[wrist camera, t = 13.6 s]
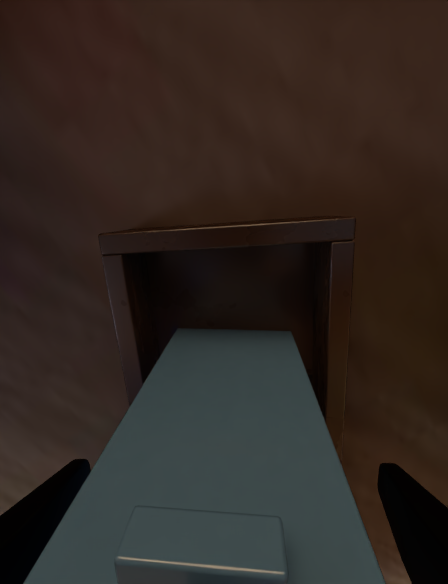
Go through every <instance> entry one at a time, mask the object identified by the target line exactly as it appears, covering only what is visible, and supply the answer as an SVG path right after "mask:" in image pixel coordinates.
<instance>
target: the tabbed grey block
mask: <svg viewBox="0 0 448 584" xmlns="http://www.w3.org/2000/svg"><path fill="white" fill-rule="evenodd" d="M23 584H386V583H385V580H384V578H383V575H382V572H381V570H380V567H379V564H378V561H377V559H376V556H375V553H374V551H373V548H372V545H371V543H370V540H369V537H368V535H367V532H366V529H365V527H364V524H363V521H362V519H361V516H360V513H359V511H358V508H357V505H356V503H355V500H354V497H353V495H352V492H351V489H350V487H349V484H348V481H347V479H346V476H345V473H344V471H343V468H342V465H341V463H340V460H339V457H338V455H337V452H336V449H335V447H334V444H333V441H332V439H331V436H330V433H329V430H328V428H327V425H326V422H325V420H324V417H323V414H322V412H321V409H320V406H319V404H318V401H317V398H316V396H315V393H314V390H313V388H312V385H311V382H310V380H309V377H308V374H307V372H306V369H305V366H304V364H303V361H302V358H301V356H300V353H299V350H298V348H297V345H296V342H295V340H294V337H293V334H292V332H291V331H268V330H230V329H192V328H177V329H176V331H175V332H174V334H173V336H172V337H171V339H170V341H169V342H168V344H167V346H166V347H165V349H164V351H163V352H162V354H161V356H160V357H159V359H158V361H157V362H156V364H155V366H154V367H153V369H152V371H151V372H150V374H149V376H148V377H147V379H146V381H145V382H144V384H143V386H142V387H141V389H140V391H139V392H138V394H137V396H136V397H135V399H134V400H133V402H132V404H131V405H130V407H129V409H128V410H127V412H126V414H125V415H124V417H123V419H122V420H121V422H120V424H119V425H118V427H117V429H116V430H115V432H114V434H113V435H112V437H111V439H110V440H109V442H108V444H107V445H106V447H105V449H104V450H103V452H102V454H101V455H100V457H99V459H98V460H97V462H96V464H95V465H94V467H93V469H92V470H91V472H90V473H89V475H88V477H87V478H86V480H85V482H84V483H83V485H82V487H81V488H80V490H79V492H78V493H77V495H76V497H75V498H74V500H73V502H72V503H71V505H70V507H69V508H68V510H67V512H66V513H65V515H64V517H63V518H62V520H61V522H60V523H59V525H58V527H57V528H56V530H55V532H54V533H53V535H52V537H51V538H50V540H49V542H48V543H47V545H46V546H45V548H44V550H43V551H42V553H41V555H40V556H39V558H38V560H37V561H36V563H35V565H34V566H33V568H32V570H31V571H30V573H29V575H28V576H27V578H26V580H25V581H24V583H23Z"/></svg>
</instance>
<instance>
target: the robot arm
mask: <svg viewBox="0 0 448 584" xmlns="http://www.w3.org/2000/svg"><path fill="white" fill-rule="evenodd" d="M90 472H91V469H90V465H89V462H88V460H87V459H75V460H73V461H71V462H70V463H69V464H67V465H66V466H65V467H63V468H62V469H61V470H59V471H58V472H57V473H56V474H54V475H53V476H52V477H50V478H49V479H48V480H46V481H45V482H44V483H43V484H41V485H40V486H39V487H37V488H36V489H35V490H33V491H32V492H31V493H29V494H28V495H27V496H26V497H24V498H23V499H22V500H20V501H19V502H18V503H16V504H15V505H14V506H13V507H11V508H10V509H9V510H7V511H6V512H5V513H3V514H2V515H1V516H0V584H23V583H24V581H25V580H26V578H27V576H28V575H29V573H30V571H31V570H32V568H33V566H34V565H35V563H36V561H37V560H38V558H39V556H40V555H41V553H42V551H43V550H44V548H45V546H46V545H47V543H48V542H49V540H50V538H51V537H52V535H53V533H54V532H55V530H56V528H57V527H58V525H59V523H60V522H61V520H62V518H63V517H64V515H65V513H66V512H67V510H68V508H69V507H70V505H71V503H72V502H73V500H74V498H75V497H76V495H77V493H78V492H79V490H80V488H81V487H82V485H83V483H84V482H85V480H86V478H87V477H88V475H89V473H90ZM378 492H379V495H380V498H381V501H382V504H383V507H384V510H385V513H386V516H387V519H388V521H389V524H390V527H391V530H392V533H393V536H394V539H395V542H396V545H397V548H398V551H399V553H400V556H401V559H402V561H403V564H404V566H405V568H406V571H407V573H408V575H409V578H410V580H411V582H412V584H448V508H447V507H446V506H445V505H444V504H442V503H441V502H440V501H439V500H438V499H437V498H435V497H434V496H433V495H432V494H431V493H430V492H428V491H427V490H426V489H425V488H424V487H423V486H421V485H420V484H419V483H418V482H417V481H416V480H414V479H413V478H412V477H411V476H410V475H409V474H407V473H406V472H405V471H404V470H403V469H402V468H400V467H399V466H398V465H396V464H394V463H381V464H380V467H379V475H378Z"/></svg>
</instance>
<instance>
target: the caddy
mask: <svg viewBox="0 0 448 584" xmlns="http://www.w3.org/2000/svg"><path fill="white" fill-rule="evenodd" d="M355 225H356V219H355V217H344V216H320V217H305V218H291V219H276V220H261V221H246V222H231V223H217V224H202V225H187V226H172V227H157V228H143V229H129V230H123V231H116V232H109V233H102V234H99V235H98V238H99V243H100V249H101V254H102V255H103V256H102V262H103V267H104V272H105V278H106V283H107V288H108V294H109V299H110V304H111V309H112V315H113V320H114V325H115V331H116V336H117V341H118V347H119V352H120V357H121V363H122V368H123V373H124V379H125V384H126V389H127V395H128V400H129V405H131V404H132V402H133V400H134V399H135V397H136V396H137V394H138V392H139V391H140V389H141V387H142V386H143V384H144V382H145V381H146V379H147V377H148V376H149V374H150V372H151V371H152V369H153V367H154V366H155V364H156V362H157V361H158V359H159V357H160V356H161V354H162V352H163V351H164V349H165V347H166V346H167V344H168V342H169V341H170V339H171V337H172V336H173V334H174V332H175V331H176V329H177V328H192V329H230V330H268V331H291V332H292V334H293V337H294V340H295V342H296V345H297V348H298V350H299V353H300V356H301V358H302V361H303V364H304V366H305V369H306V372H307V374H308V377H309V380H310V382H311V385H312V388H313V390H314V393H315V396H316V398H317V401H318V404H319V406H320V409H321V412H322V414H323V417H324V420H325V422H326V425H327V428H328V430H329V433H330V436H331V439H332V441H333V444H334V447H335V449H336V452H337V455H338V457H339V460H340V463H341V465H342V450H343V433H344V416H345V399H346V382H347V365H348V347H349V330H350V313H351V296H352V279H353V262H354V245H355V242H354V241H352V240H354V238H355Z"/></svg>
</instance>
